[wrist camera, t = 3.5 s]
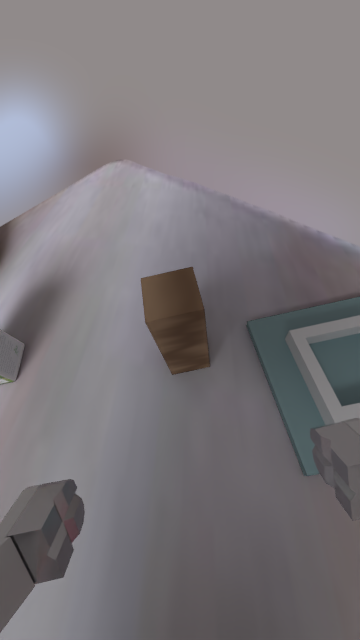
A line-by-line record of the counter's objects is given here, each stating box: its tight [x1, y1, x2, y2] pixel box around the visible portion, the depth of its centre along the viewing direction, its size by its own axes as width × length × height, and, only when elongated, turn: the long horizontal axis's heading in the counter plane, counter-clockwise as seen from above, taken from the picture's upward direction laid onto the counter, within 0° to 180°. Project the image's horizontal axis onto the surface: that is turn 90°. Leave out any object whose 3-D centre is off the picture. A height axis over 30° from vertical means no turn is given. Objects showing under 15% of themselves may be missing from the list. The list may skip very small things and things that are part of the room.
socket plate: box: [246, 297, 360, 476], centre depth 24 cm, size 16×16×3 cm
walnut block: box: [141, 267, 210, 375], centre depth 24 cm, size 4×4×12 cm
